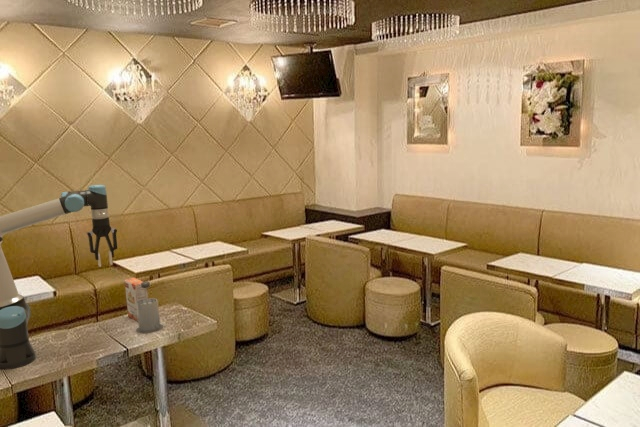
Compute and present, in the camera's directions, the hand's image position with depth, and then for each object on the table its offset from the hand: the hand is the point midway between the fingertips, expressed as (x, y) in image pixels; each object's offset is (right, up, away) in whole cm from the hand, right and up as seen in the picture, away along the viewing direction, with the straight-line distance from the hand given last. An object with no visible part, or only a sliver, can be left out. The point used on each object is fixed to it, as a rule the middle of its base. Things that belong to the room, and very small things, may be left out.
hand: (105, 265), depth 254 cm
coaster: (+18, -33, +9) cm, 39 cm away
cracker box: (+7, -31, +25) cm, 41 cm away
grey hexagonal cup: (+18, -32, +9) cm, 38 cm away
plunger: (+18, -21, +7) cm, 28 cm away
